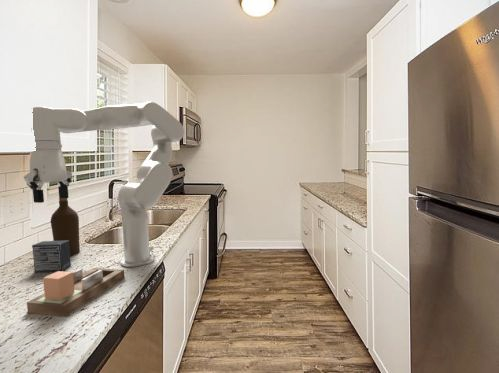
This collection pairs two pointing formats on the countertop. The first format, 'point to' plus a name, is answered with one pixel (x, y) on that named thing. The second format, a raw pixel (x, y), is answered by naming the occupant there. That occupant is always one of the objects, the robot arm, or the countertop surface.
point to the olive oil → (66, 225)
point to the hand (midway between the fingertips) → (52, 200)
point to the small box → (51, 256)
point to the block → (58, 285)
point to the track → (77, 292)
